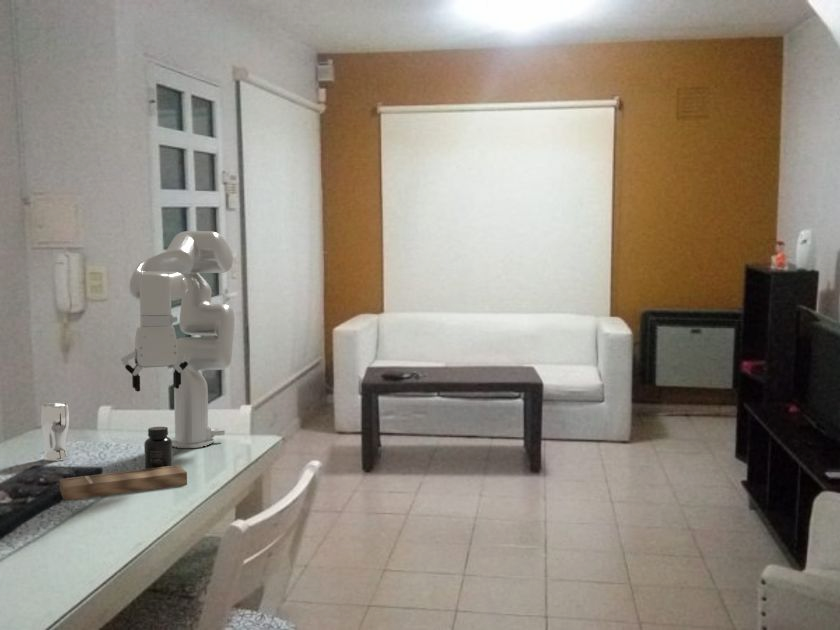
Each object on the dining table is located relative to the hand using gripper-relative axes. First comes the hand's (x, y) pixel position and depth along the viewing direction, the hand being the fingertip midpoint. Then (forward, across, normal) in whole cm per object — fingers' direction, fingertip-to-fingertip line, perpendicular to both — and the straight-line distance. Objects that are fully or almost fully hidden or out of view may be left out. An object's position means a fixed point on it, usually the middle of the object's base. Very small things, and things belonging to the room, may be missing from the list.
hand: (157, 389), depth 215 cm
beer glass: (+22, +21, -30) cm, 43 cm away
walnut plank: (+22, +10, +8) cm, 26 cm away
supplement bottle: (+22, 0, 0) cm, 22 cm away
